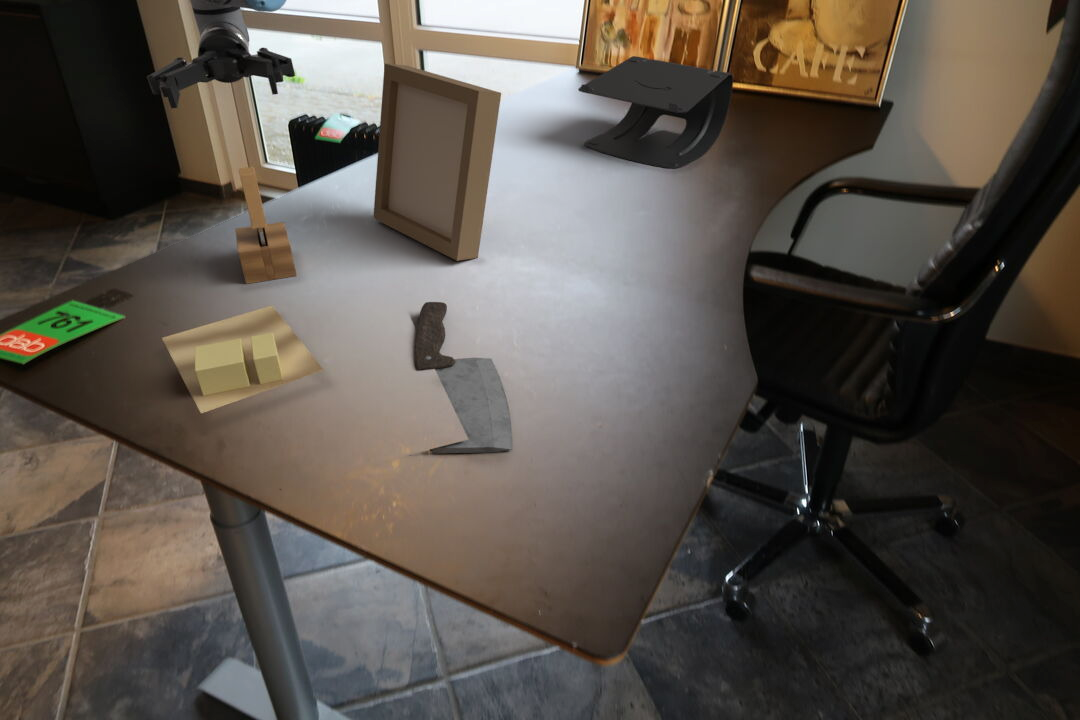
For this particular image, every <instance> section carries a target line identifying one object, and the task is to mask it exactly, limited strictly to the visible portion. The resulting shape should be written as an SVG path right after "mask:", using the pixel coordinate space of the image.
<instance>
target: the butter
mask: <svg viewBox="0 0 1080 720" xmlns="http://www.w3.org/2000/svg"><path fill="white" fill-rule="evenodd" d="M195 372H196V375H197V378H198V381H199V384H200V387H201V390H202V393H203V396H206V395H210V394H215V393H220V392H225V391H230V390H235V389H240V388H244V387H249V386H250V383H249V374H248V365H247V360H246V356H245V353H244V349H243V346H242V342H241V339H236V340H230V341H225V342H220V343H214V344H209V345H203V346H198V347H195Z"/></svg>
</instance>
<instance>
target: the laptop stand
mask: <svg viewBox="0 0 1080 720" xmlns="http://www.w3.org/2000/svg"><path fill="white" fill-rule="evenodd" d="M733 86H734V75H733V73H731V72H727V71H720V70H714V71H713V69H710V68H704V67H699V66H692V65H688V64H687V65H686V64H681V63H675V62H671V61H664V60H659V59H654V58H653V59H652V58H650V59H649V58H646V57H641V56H636V55H633V56H630V57H629V58H626V59H625V60H624V61H622V62H620V63H619V64H617V65H615V66H614V67H612V68H610V69H609V70H607V71H605V72H604V73H602V74H600V75H598V76H596V77H595V78H593V79H592V80H590V81H588V82H587V83H585V84H584V83H583V84H581V86H579V88H578V92H581V93H584V94H589V95H593V96H599V97H603V98H609V99H613V100H617V101H621V102H626V103H631V104H630V106H629V109H628V110H627V113H626V114H625V115H624V117H622V119H621V120H620V121H619V122H618V123H617V124H615V126H613V127H612V128H610V129H609V130H607V131H606V132H604V133H601V134H599V135H597V136H595V137H592V138H590V139H587V140H586V141H585V142H584V143H583V144H584V146H585V147H586V148H589V149H590V150H594V151H596V152H600V153H603V154H606V155H609V156H613V157H616V158H620V159H623V160H628V161H632V162H635V163H639V164H644V165H648V166H649V165H650V166H653V167H658V168H664V169H679V168H682V167H685V166H687V165H689V164H691V163H693V162H695V161H697V160H699V159H701V158H702V157H704V156H705V154H706V153H708V151H709V150H710V149H711V148H712V147H713V146H714V144H715V143H716V141H717V140H718V139H719V137H720V134H721V132H722V130H723V127H724V125H725V123H726V120H727V116H728V113H729V109H730V105H731V99H732V95H733V94H732V93H733ZM662 116H669V117H674V118H679V119H682V120H685V127H684V129H683V130H682V132H681V133H678V132H674V131H669V130H658V131H655V132H653V133H650V134H648V135H646V134H647V133H648V132H649V131H650V130H651V129H652V128H653V126H654V125H655V124H656V123H657V121H658V120H659V118H661V117H662Z"/></svg>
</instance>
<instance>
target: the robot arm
mask: <svg viewBox="0 0 1080 720" xmlns="http://www.w3.org/2000/svg"><path fill="white" fill-rule="evenodd" d="M189 1H190V4H191V9H192V11H193V16H194V20H195V23H196V26H197V30H198V32H199V36H200V37H199V43H198V49H197V57H194V58H192V60H191V61H189V62H187V60H186V59H184V57H177V58H175V59H174V60H173V61H172V62H170V63H169V64H167V65H165V66H163V67H161V68H160V69H158V70H156V71H154V72H152V73H151V74H149V75H147V76H146V78H147V81H148V84H149V87H150V89H151V92H152V94H153V95H156V96H157V95H162V97H163V98H167V100H168V103H169V106H170V108H171V109H178V106H179V101H180V96H181V92H180V91H182V90H184V89H187V88H189V87H191V86H194V85H197V84H199V83H210V82H212V81H217V82H219V83H225V84H233V83H237V82H239V81H240V80H242V79H243V78H250V77H253V76H254V77H255V76H256V77H259V78H265V79H268V83H269V87H270V90H271V95H273V96H274V95H278V94H279V93H278V92H279V91H278V84H277V83H283V82H284V81H285V80H284V77H286V78H294V77H296V72H295V68H294V64H293V60H292V58H291V57H288V56H285V55H282V54H279V53H277V52H273V51H270V50H269V49H268V48H267V47H260V48H259V49H258V50H256V54H251V53H250V35H249V31H248V27H247V25H246V24H245V21H244V16H243V13H242V10H241V9H242V8H243V9H249V10H253V11H256V12H258V13H259V12H262V13H264V12H266V13H273V12H277V11H279V10H280V9H282V7H283V6H284V5H285V4H286V3H287V0H189Z"/></svg>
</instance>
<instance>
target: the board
mask: <svg viewBox="0 0 1080 720" xmlns="http://www.w3.org/2000/svg"><path fill="white" fill-rule="evenodd" d="M268 333H273V335H274V339H275V343H276V347H277V352H278V356H279V361H280V367H281V372H282V378H283V380H278V381H274V382H269V383H264V384H260V382H259V378H258V374H257V371H256V367H255V363H254V359H253V352H252V344H251V337H252V336H257V335H263V334H268ZM236 339H241V342H242V346H243V349H244V353H245V356H246V360H247V365H248V374H249V383H250V386H249V387H244V388H240V389H235V390H230V391H225V392H220V393H215V394H210V395H206V396H203V393H202V390H201V387H200V384H199V381H198V378H197V375H196V372H195V347H198V346H203V345H209V344H214V343H220V342H225V341H230V340H236ZM161 340H162V342H163V344H164V346H165V348H166V350H167V351H168V354H169V355H170V358H171V360H172V361H173V363H174V365H175V367H176V369H177V371H178V373H179V374H180V376H181V379H182V380H183V381H182V382H184V384H185V387H186V388H187V391H188V392H189V394H190V396H191V398H192V400H193V402H194V404H195V405H196V407H197V409H198V411H199V413H200V414H203V413H206V412H209V411H212V410H215V409H218V408H221V407H223V406H226V405H229V404H232V403H235V402H238V401H240V400H243V399H246V398H250V397H252V396H255V395H257V394H261V393H263V392H266V391H269V390H272V389H275V388H278V387H280V386H283V385H286V384H288V383H292V382H294V381H297V380H301V379H303V378H305V377H309V376H311V375H314V374H317V373H319V372H323V371H324V368H323V367H322V366H321V364H320V363H319V362H318V360H317V359H316V358H315V357H314V356H313V354H312V353H311V352H310V351H309V349H308V348H307V346H306V345H305V344H304V343H303V342H302V341H301V339H300V338H299V337H298V335H297V334H296V333H295V332H294V330H292V328H291V327H290V325H289V324H288V323H287V322H286V320H285V319H284V318H283V317H282V315H281V314H280V313H279V312H278V311H277V309H276V308H275V307H274V305H269V306H266V307H262V308H259V309H256V310H252V311H248V312H245V313H241V314H238V315H234V316H231V317H228V318H224V319H222V320H218V321H214V322H211V323H208V324H205V325H201V326H197V327H194V328H190V329H187V330H184V331H180V332H177V333H173V334H171V335H167V336H164V337H161Z"/></svg>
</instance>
